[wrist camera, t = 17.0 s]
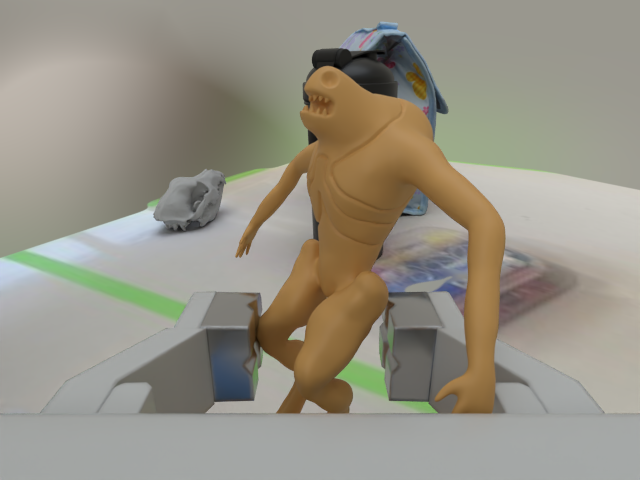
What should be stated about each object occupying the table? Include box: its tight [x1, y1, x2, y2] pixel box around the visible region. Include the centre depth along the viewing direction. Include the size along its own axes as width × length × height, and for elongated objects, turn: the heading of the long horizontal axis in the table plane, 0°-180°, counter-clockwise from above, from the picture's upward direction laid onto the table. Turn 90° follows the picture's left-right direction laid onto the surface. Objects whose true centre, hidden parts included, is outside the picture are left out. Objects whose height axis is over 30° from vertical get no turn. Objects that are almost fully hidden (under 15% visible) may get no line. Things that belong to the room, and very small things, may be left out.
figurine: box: [235, 66, 505, 413], centre depth 10 cm, size 8×6×12 cm
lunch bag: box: [339, 22, 448, 215], centre depth 69 cm, size 22×17×26 cm
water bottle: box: [303, 48, 398, 259], centre depth 50 cm, size 10×10×23 cm
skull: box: [153, 169, 226, 231], centre depth 63 cm, size 8×9×12 cm
